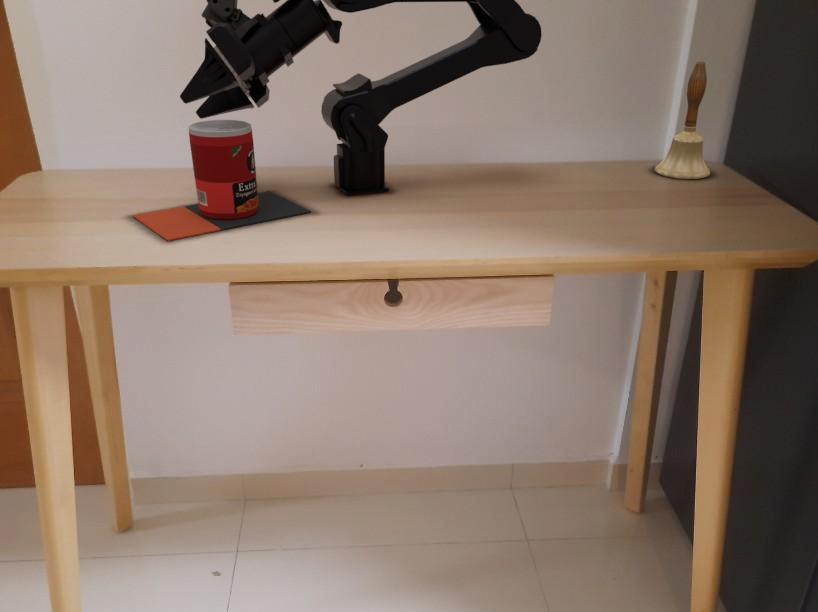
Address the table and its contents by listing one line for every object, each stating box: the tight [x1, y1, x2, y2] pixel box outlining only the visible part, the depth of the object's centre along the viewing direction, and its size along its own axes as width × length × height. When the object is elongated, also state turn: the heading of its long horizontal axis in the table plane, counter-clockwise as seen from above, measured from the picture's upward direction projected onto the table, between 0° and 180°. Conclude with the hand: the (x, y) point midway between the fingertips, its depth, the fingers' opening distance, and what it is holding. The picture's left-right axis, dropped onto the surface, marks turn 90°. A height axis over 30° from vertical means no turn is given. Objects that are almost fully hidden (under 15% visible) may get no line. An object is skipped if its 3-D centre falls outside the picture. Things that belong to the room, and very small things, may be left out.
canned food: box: [188, 119, 259, 220], centre depth 100 cm, size 8×8×11 cm
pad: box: [132, 205, 222, 242], centre depth 99 cm, size 7×12×1 cm, turn 36°
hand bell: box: [654, 61, 711, 180], centre depth 117 cm, size 8×8×16 cm
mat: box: [184, 190, 312, 231], centre depth 104 cm, size 13×12×1 cm
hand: (190, 108), depth 101 cm, fingers open, 9 cm apart
